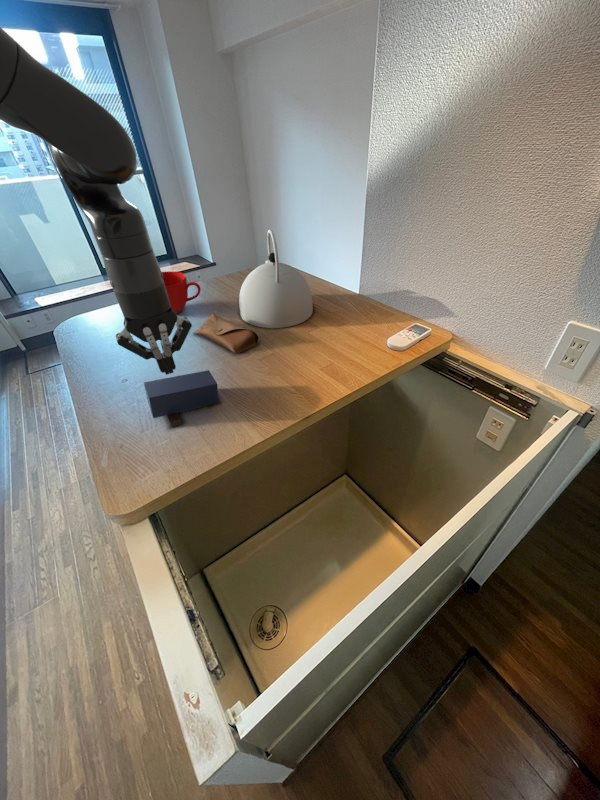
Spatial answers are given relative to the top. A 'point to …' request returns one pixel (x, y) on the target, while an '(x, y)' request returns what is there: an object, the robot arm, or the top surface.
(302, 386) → the top surface
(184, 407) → the navy box
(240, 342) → the sunglasses case
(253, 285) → the kettle
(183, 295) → the ceramic cup
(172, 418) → the stop strip
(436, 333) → the top surface
